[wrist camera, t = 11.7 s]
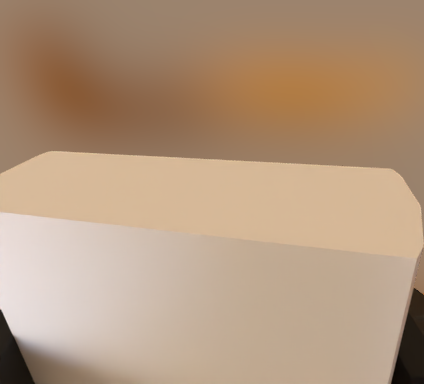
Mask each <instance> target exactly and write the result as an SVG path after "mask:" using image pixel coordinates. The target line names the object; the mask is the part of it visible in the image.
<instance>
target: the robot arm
mask: <svg viewBox="0 0 424 384" xmlns="http://www.w3.org/2000/svg"><path fill="white" fill-rule="evenodd" d="M0 384H35V382H34V380H33V378H32V376H31V374H30V371H29V369H28V367H27V365H26V362H25V360H24V358H23V356H22V354H21V351H20V349H19V347H18V345H17V343H16V340H15V338H14V336H13V335H12V332H11V330H10V328H9V326H8V323H7V321H6V319H5V317H4V315H3V312H2V310H0ZM391 384H424V295H423V294H422V293H420V292H419V291H418V290H416V289H415V288H413V293H412V297H411V301H410V305H409V309H408V314H407V318H406V322H405V326H404V330H403V335H402V339H401V343H400V347H399V352H398V356H397V360H396V364H395V368H394V373H393V377H392V381H391Z"/></svg>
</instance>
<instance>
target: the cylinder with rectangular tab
mask: <svg viewBox="0 0 424 384" xmlns="http://www.w3.org/2000/svg"><path fill="white" fill-rule="evenodd" d="M423 245H424V244H423V230H422V216H421V206H420V204H419V203H418V201H417V200H416V198H415V197H414V195H413V193H412V192H411V190H410V189H409V187H408V186H407V184H406V183H405V181H404V179H403V178H402V176H401V175H399V174H398V173H397V172H395V171H394V170H393V169H385V168H366V167H346V166H327V165H309V164H289V163H287V164H286V163H269V162H250V161H231V160H212V159H193V158H173V157H154V156H135V155H116V154H114V155H113V154H95V153H77V152H76V153H75V152H58V151H57V152H56V151H49V152H47V153H44V154H41V155H38V156H36V157H34V158H32V159H30V160H28V161H26V162H24V163H22V164H20V165H18V166H16V167H13V168H12V169H9V170H7V171H5V172H3V173H1V174H0V308H1V310H2V312H3V315H4V317H5V319H6V321H7V323H8V326H9V328H10V330H11V332H12V335H13V336H14V338H15V340H16V343H17V345H18V347H19V349H20V351H21V354H22V356H23V358H24V360H25V362H26V365H27V367H28V369H29V371H30V374H31V376H32V378H33V380H34V382H35V384H391V381H392V377H393V373H394V368H395V364H396V360H397V356H398V352H399V347H400V343H401V339H402V335H403V330H404V326H405V322H406V318H407V314H408V309H409V305H410V301H411V297H412V293H413V288H414V284H415V280H416V276H417V271H418V267H419V263H420V258H421V255H422V250H423Z"/></svg>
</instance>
